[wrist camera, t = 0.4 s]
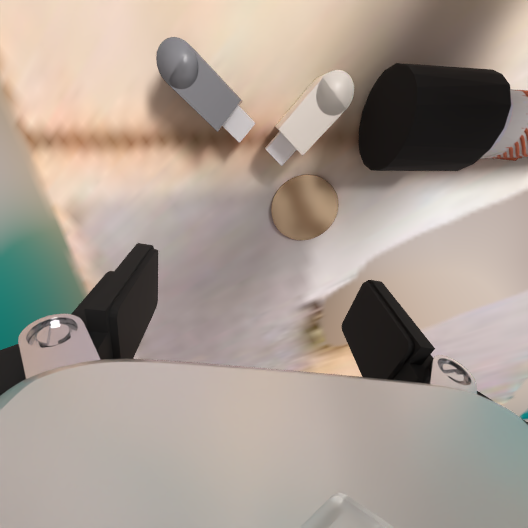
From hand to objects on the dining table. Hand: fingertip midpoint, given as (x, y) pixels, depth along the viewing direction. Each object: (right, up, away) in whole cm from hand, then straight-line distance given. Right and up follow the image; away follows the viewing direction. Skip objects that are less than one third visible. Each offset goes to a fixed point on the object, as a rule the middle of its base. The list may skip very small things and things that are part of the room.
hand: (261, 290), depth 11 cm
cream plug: (+5, +20, +20) cm, 29 cm away
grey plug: (-6, +22, +19) cm, 29 cm away
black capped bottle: (+29, +20, +22) cm, 42 cm away
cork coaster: (+6, +10, +27) cm, 29 cm away
